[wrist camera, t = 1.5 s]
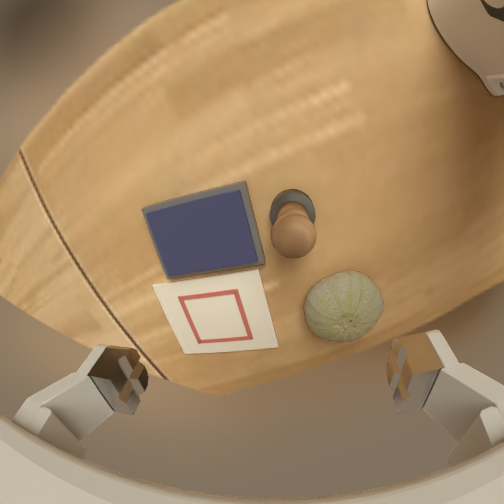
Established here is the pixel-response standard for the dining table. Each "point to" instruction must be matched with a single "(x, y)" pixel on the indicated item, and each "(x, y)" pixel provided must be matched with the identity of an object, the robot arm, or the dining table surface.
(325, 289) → the sea urchin shell
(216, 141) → the dining table surface
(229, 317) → the sheet
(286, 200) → the stamp
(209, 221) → the ink pad
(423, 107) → the dining table surface
